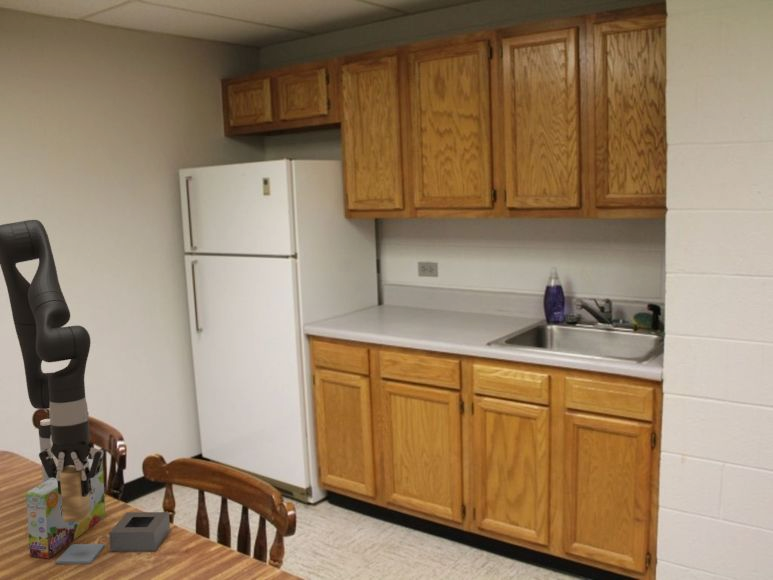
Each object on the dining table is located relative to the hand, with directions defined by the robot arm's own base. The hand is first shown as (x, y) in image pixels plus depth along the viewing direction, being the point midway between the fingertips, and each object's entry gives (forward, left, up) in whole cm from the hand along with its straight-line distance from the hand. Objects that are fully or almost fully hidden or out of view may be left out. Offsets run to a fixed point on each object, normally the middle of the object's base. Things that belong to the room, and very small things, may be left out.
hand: (75, 494), depth 155 cm
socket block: (-7, +11, -14) cm, 19 cm away
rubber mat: (0, 0, -14) cm, 14 cm away
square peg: (0, 0, -5) cm, 5 cm away
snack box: (-9, -7, -14) cm, 18 cm away
